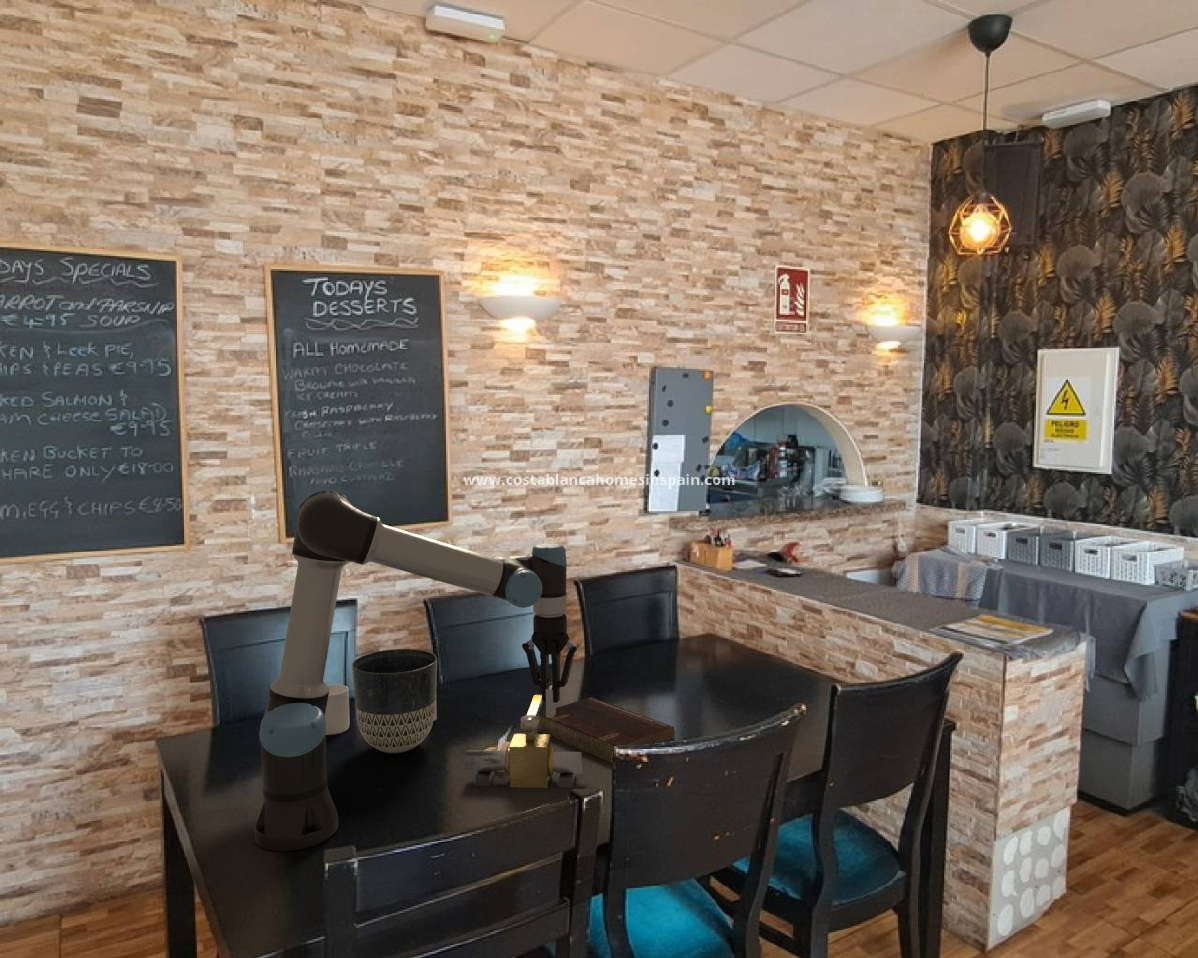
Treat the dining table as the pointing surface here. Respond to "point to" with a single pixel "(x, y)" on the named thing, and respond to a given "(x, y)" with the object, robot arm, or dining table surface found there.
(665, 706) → the dining table surface
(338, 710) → the cup
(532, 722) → the lever
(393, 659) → the planter
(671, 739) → the hardback book
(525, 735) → the valve
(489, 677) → the dining table surface
